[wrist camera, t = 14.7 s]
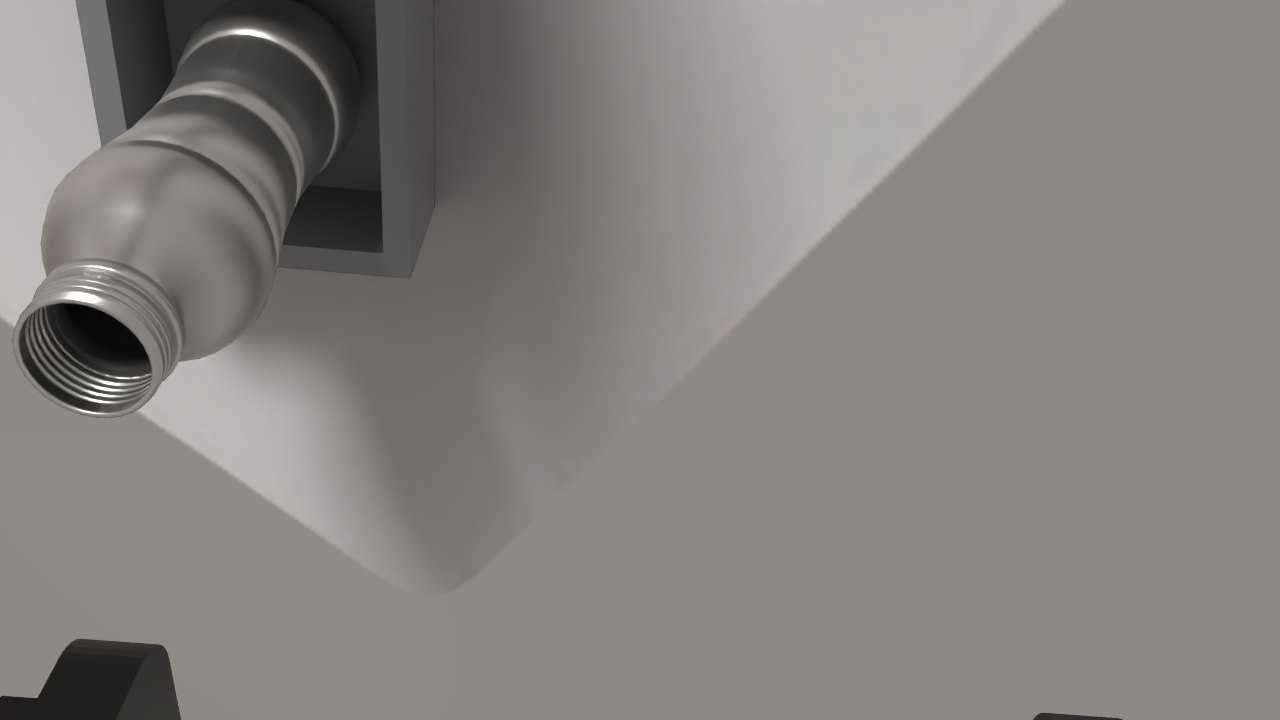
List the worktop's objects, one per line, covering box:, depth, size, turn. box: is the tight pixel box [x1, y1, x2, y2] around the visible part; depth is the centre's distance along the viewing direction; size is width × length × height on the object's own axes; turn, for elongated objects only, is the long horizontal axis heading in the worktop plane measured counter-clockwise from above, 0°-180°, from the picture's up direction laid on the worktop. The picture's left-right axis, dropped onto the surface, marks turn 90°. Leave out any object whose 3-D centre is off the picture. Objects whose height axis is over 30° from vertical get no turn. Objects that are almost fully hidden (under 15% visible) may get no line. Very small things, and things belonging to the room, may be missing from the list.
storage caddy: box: [76, 0, 435, 278], centre depth 45 cm, size 12×11×6 cm
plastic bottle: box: [12, 0, 361, 418], centre depth 38 cm, size 6×7×20 cm
